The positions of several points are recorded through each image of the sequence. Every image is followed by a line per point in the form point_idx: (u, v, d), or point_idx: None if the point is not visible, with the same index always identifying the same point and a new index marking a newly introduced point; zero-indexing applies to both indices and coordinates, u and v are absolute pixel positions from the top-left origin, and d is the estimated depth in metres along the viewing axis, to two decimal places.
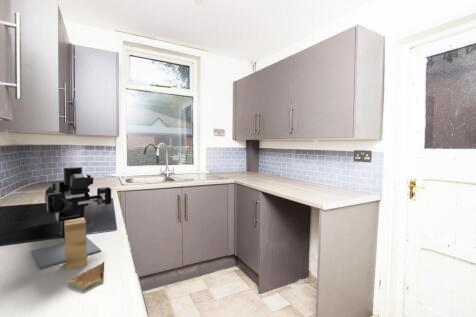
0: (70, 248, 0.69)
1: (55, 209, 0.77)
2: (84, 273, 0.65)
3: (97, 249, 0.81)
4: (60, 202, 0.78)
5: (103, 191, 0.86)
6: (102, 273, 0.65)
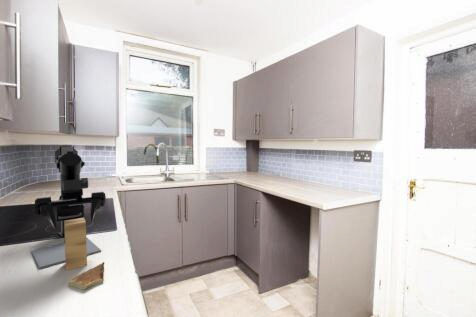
0: (70, 248, 0.69)
1: (42, 214, 0.74)
2: (84, 273, 0.65)
3: (97, 249, 0.81)
4: None
5: (95, 202, 0.80)
6: (102, 273, 0.65)
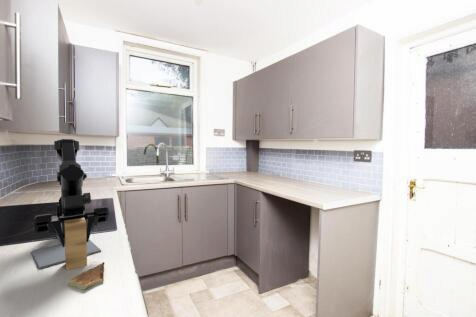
0: (70, 248, 0.69)
1: (50, 231, 0.71)
2: (84, 273, 0.65)
3: (97, 249, 0.81)
4: None
5: (92, 219, 0.75)
6: (102, 273, 0.65)
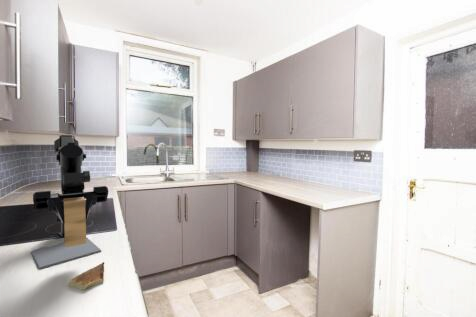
0: (69, 225, 0.68)
1: (50, 208, 0.71)
2: (84, 273, 0.65)
3: (97, 249, 0.81)
4: None
5: (91, 197, 0.75)
6: (102, 273, 0.65)
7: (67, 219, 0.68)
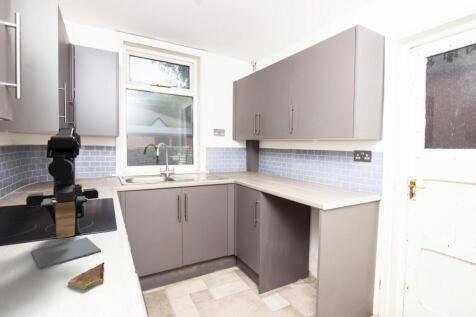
0: (60, 228, 0.79)
1: None
2: (84, 273, 0.65)
3: (97, 249, 0.81)
4: None
5: (81, 203, 0.80)
6: (102, 273, 0.65)
7: (58, 225, 0.77)
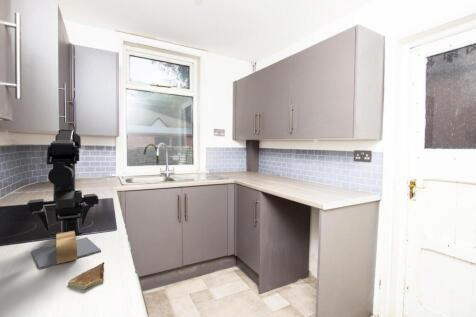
0: None
1: None
2: (84, 273, 0.65)
3: (97, 249, 0.81)
4: None
5: (88, 208, 0.81)
6: (102, 273, 0.65)
7: None
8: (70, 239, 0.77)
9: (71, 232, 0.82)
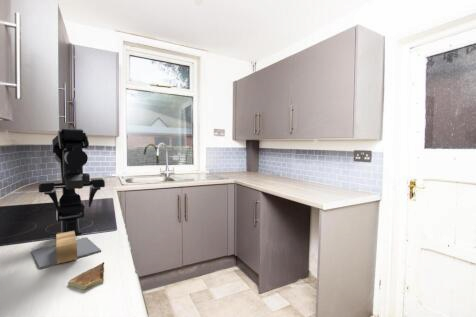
0: None
1: None
2: (84, 273, 0.65)
3: (97, 249, 0.81)
4: None
5: (95, 191, 0.87)
6: (102, 273, 0.65)
7: None
8: (70, 239, 0.77)
9: (71, 232, 0.82)
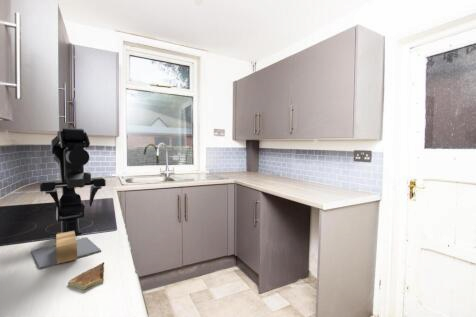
0: None
1: None
2: (84, 273, 0.65)
3: (97, 249, 0.81)
4: None
5: (96, 190, 0.87)
6: (102, 273, 0.65)
7: None
8: (70, 239, 0.77)
9: (71, 232, 0.82)
